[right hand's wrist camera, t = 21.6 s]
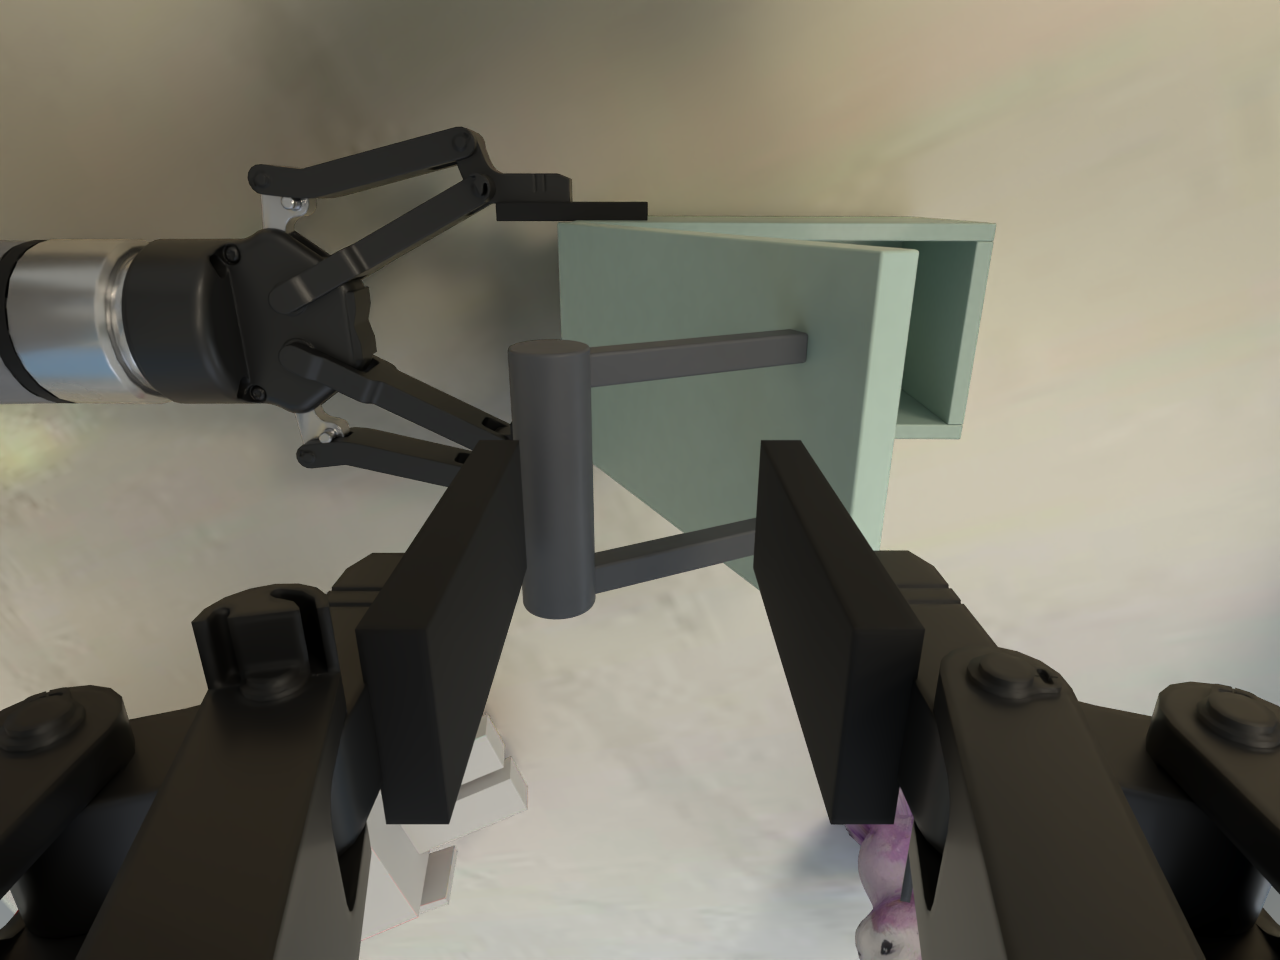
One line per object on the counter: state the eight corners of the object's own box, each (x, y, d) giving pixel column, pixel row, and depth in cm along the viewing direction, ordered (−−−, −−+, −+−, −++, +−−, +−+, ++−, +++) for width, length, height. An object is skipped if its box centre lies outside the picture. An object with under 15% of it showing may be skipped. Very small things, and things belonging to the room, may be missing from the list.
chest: (914, 216, 39) (997, 223, 30) (892, 386, 43) (960, 439, 33) (588, 215, 39) (570, 221, 30) (592, 384, 43) (576, 437, 33)
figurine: (808, 822, 55) (869, 1039, 41) (916, 740, 52) (1021, 942, 38) (891, 886, 57) (975, 1111, 43) (998, 811, 54) (1125, 1025, 40)
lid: (921, 249, 15) (547, 263, 12) (868, 639, 18) (566, 738, 15) (580, 222, 30) (373, 224, 26) (586, 439, 33) (403, 467, 30)
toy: (545, 898, 44) (75, 1094, 44) (542, 751, 57) (178, 903, 56) (456, 745, 40) (-63, 959, 40) (474, 624, 53) (81, 786, 52)
